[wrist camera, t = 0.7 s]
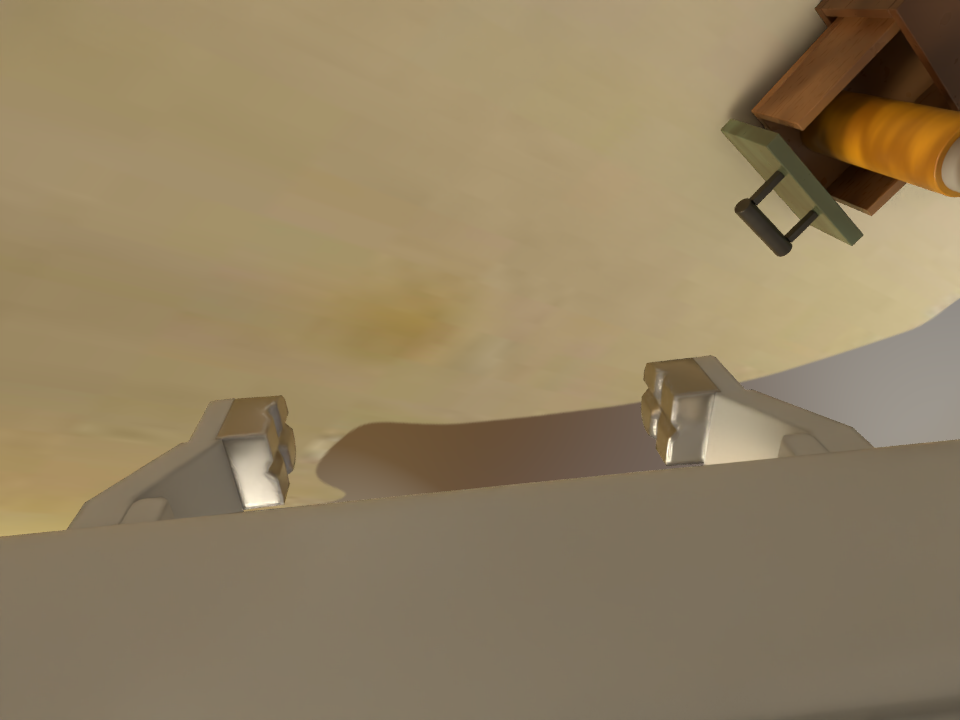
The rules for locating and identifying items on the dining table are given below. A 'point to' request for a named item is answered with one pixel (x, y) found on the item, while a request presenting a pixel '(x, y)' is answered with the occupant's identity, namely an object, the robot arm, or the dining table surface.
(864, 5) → the cabinet
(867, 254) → the dining table surface
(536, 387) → the dining table surface
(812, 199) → the drawer
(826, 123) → the pepper mill
